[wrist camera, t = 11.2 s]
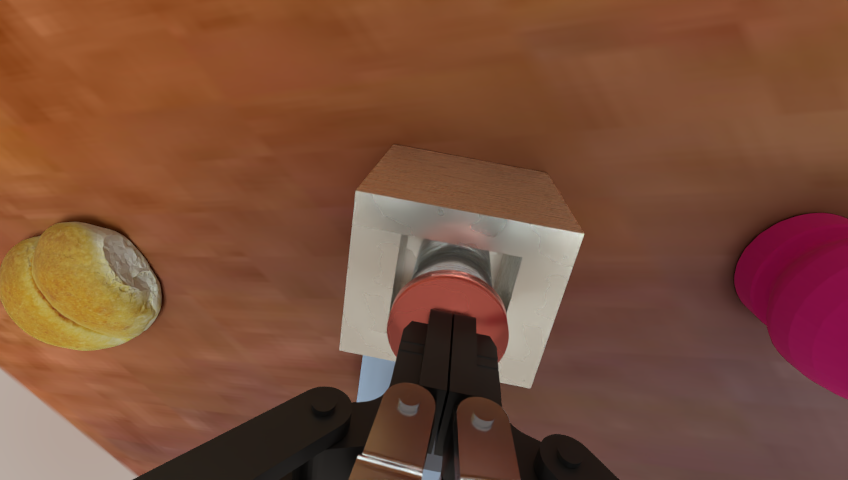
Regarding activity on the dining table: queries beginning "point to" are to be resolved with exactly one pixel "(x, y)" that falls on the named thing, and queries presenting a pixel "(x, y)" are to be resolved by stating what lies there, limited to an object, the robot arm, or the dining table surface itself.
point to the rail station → (461, 225)
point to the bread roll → (79, 287)
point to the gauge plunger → (450, 292)
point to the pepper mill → (802, 293)
